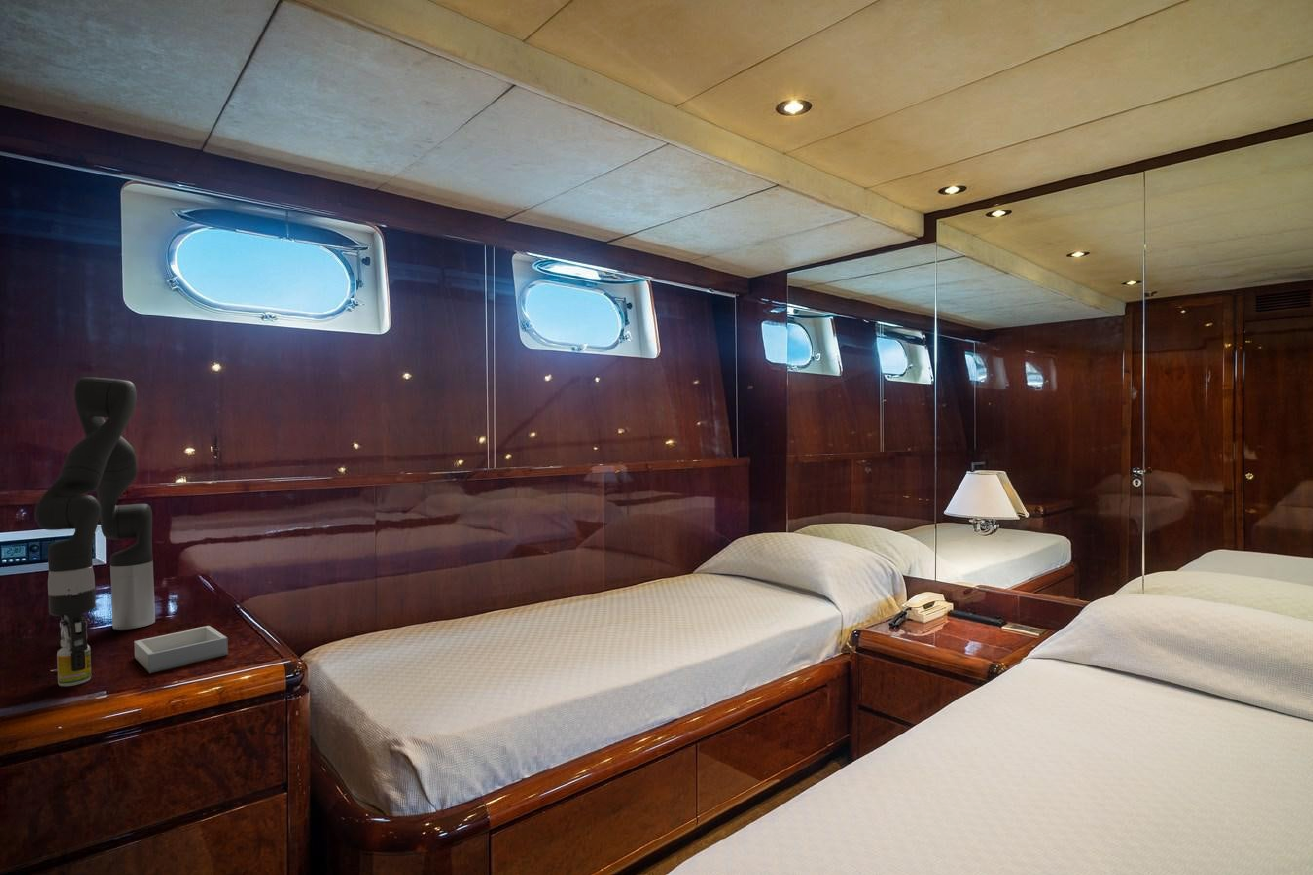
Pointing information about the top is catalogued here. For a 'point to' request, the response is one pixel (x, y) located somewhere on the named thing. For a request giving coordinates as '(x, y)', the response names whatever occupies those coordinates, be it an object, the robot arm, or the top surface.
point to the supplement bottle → (64, 667)
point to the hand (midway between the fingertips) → (75, 665)
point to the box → (180, 648)
